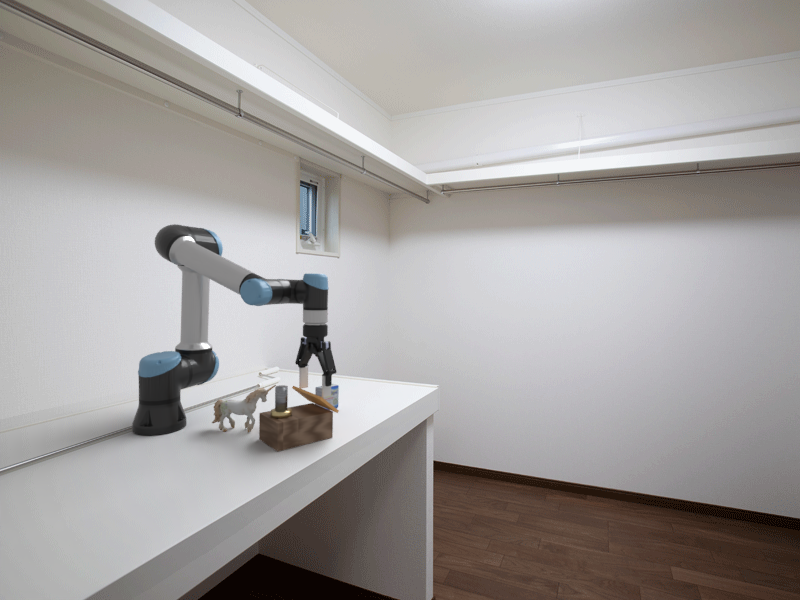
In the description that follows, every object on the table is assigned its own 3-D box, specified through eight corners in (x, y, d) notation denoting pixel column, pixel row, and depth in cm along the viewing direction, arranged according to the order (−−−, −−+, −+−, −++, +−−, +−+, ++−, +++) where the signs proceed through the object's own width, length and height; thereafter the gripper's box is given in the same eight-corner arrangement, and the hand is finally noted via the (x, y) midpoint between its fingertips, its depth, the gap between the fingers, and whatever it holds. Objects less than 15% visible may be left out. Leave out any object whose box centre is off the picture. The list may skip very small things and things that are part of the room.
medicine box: (323, 412, 161) (323, 388, 160) (314, 409, 163) (315, 386, 163) (338, 407, 167) (339, 384, 166) (330, 405, 170) (330, 383, 169)
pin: (276, 444, 126) (276, 390, 125) (266, 438, 130) (267, 386, 130) (295, 439, 130) (295, 387, 129) (285, 433, 134) (286, 383, 134)
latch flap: (320, 399, 128) (321, 397, 129) (291, 387, 141) (293, 385, 141) (337, 413, 133) (338, 410, 133) (308, 400, 145) (310, 398, 146)
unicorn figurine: (275, 432, 139) (275, 389, 138) (208, 436, 134) (208, 392, 133) (275, 424, 146) (276, 384, 145) (212, 428, 141) (212, 386, 140)
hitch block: (277, 451, 123) (277, 423, 123) (259, 439, 132) (259, 412, 132) (332, 437, 135) (332, 411, 135) (312, 427, 144) (312, 403, 144)
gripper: (348, 326, 129) (347, 398, 130) (305, 320, 148) (305, 382, 149) (326, 328, 124) (325, 402, 125) (285, 321, 143) (284, 386, 144)
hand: (314, 392), depth 137 cm, fingers open, 13 cm apart
